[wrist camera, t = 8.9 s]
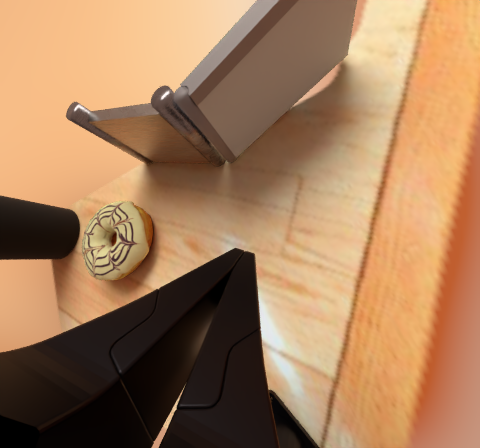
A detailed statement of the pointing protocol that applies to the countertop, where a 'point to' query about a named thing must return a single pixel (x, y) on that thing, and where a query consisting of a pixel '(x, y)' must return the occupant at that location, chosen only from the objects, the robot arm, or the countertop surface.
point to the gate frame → (150, 130)
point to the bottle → (36, 230)
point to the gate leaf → (264, 68)
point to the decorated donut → (116, 240)
